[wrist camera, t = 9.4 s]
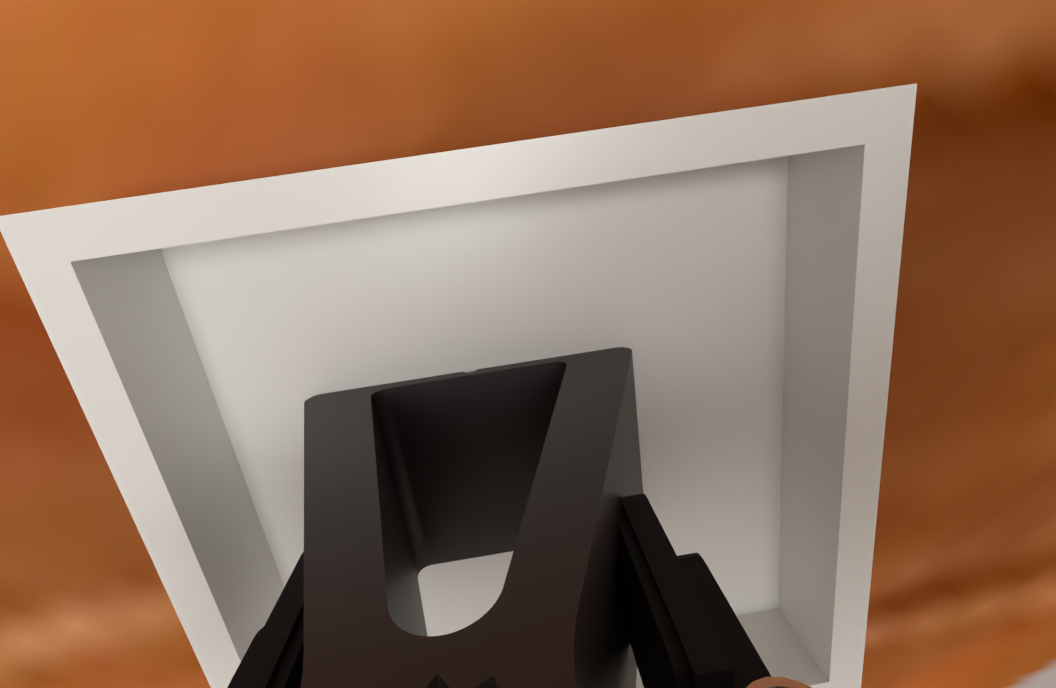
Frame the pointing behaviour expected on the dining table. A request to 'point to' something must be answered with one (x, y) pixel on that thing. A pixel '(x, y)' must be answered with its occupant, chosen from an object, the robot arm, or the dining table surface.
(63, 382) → the dining table surface
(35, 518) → the dining table surface
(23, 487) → the dining table surface
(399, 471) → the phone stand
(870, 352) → the tray
